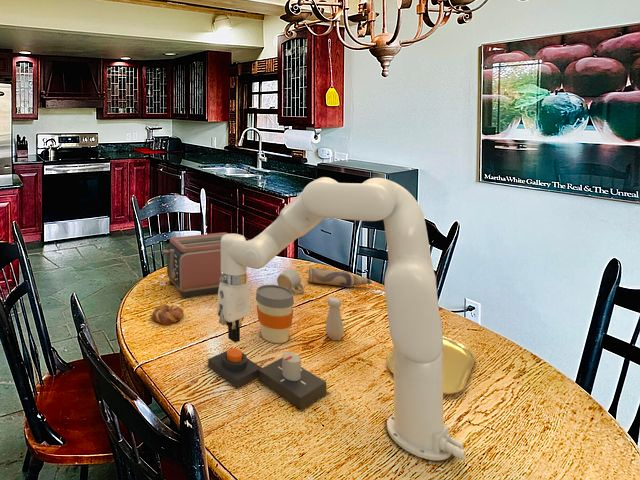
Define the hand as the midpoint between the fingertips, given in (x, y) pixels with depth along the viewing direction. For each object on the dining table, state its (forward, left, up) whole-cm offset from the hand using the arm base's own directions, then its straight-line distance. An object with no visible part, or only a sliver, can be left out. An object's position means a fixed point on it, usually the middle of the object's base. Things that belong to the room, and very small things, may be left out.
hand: (234, 339), depth 116 cm
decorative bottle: (+18, -81, -9) cm, 83 cm away
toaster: (+52, -31, -9) cm, 61 cm away
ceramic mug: (+27, -61, -9) cm, 67 cm away
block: (0, 0, -9) cm, 9 cm away
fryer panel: (-14, -8, -9) cm, 19 cm away
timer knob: (-14, -8, -6) cm, 17 cm away
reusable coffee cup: (+6, -25, -9) cm, 27 cm away
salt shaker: (-6, -41, -9) cm, 42 cm away
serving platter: (-31, -51, -9) cm, 60 cm away
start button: (0, 0, -5) cm, 5 cm away
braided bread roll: (+37, -2, -9) cm, 38 cm away
